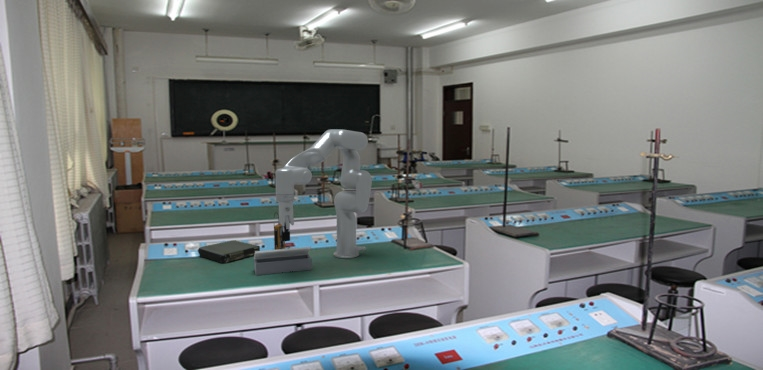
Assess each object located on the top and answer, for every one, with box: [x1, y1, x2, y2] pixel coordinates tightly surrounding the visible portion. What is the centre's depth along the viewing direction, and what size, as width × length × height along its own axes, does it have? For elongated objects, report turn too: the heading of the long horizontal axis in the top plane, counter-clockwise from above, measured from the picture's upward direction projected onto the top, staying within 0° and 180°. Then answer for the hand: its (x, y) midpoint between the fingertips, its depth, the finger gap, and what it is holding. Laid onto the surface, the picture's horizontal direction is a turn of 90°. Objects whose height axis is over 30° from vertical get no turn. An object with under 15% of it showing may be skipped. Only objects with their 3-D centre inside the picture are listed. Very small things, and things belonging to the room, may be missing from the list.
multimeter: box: [273, 212, 290, 250], centre depth 243 cm, size 15×10×20 cm
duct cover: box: [253, 246, 312, 260], centre depth 211 cm, size 24×9×1 cm
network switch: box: [198, 239, 261, 264], centre depth 233 cm, size 23×24×5 cm
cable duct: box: [253, 254, 313, 276], centre depth 210 cm, size 24×7×5 cm, turn 111°
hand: (286, 240), depth 202 cm, fingers closed
